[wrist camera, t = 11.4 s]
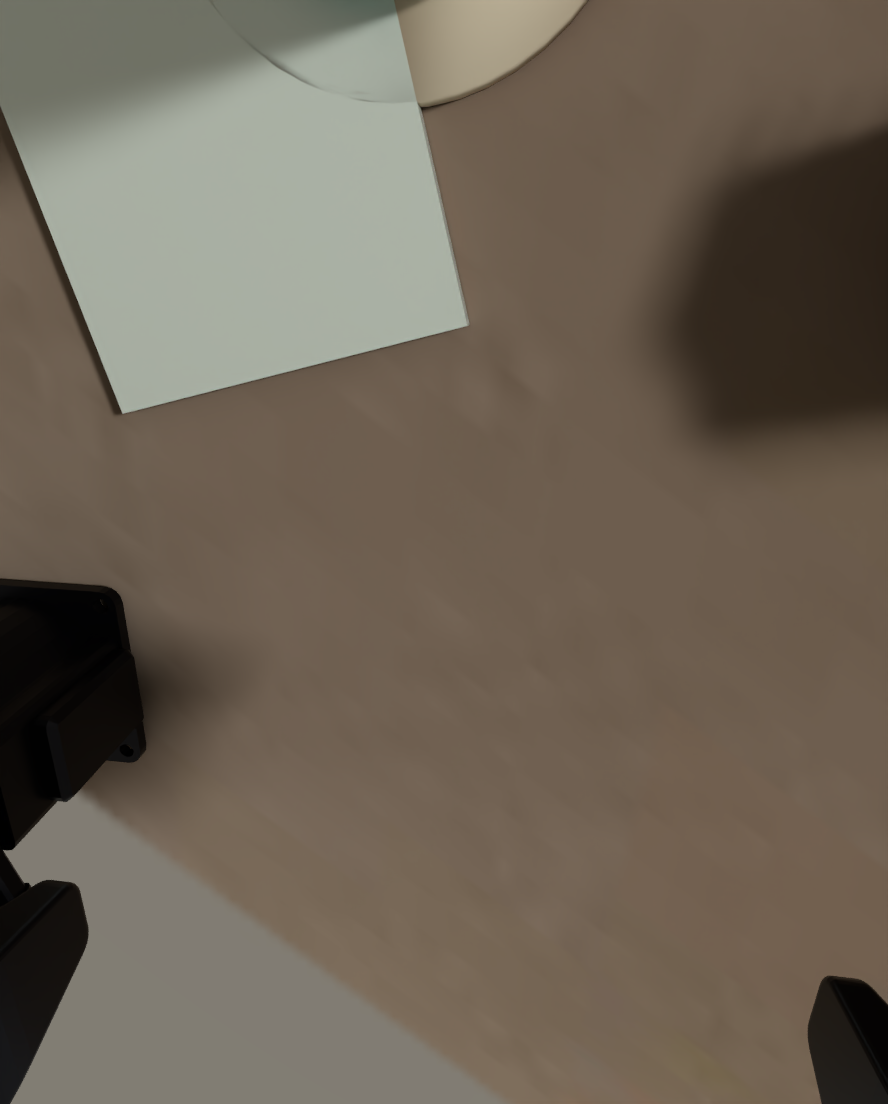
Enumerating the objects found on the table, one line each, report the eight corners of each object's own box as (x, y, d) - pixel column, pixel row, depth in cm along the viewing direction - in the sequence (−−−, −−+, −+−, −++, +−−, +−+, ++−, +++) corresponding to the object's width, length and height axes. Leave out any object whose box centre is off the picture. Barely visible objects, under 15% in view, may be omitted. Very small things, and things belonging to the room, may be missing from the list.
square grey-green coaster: (133, 410, 20) (122, 413, 20) (-24, 6, 17) (-44, -4, 16) (469, 324, 18) (467, 325, 18) (362, -153, 15) (355, -169, 14)
